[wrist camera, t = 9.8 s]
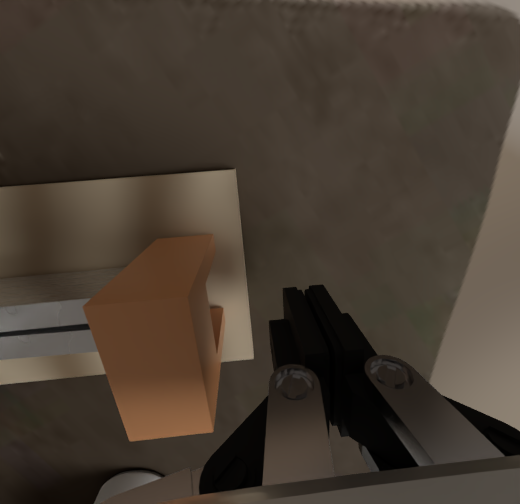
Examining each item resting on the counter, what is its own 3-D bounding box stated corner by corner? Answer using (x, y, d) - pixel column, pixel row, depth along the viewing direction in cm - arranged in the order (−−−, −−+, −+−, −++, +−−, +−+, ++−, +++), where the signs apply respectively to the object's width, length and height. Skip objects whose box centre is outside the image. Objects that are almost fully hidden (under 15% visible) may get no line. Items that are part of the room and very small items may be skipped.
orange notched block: (213, 234, 14) (187, 296, 7) (225, 322, 16) (212, 432, 9) (157, 238, 14) (82, 306, 7) (176, 326, 16) (129, 441, 9)
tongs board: (235, 168, 14) (233, 171, 11) (253, 348, 18) (255, 390, 15) (-192, 201, 13) (-337, 215, 10) (-74, 381, 17) (-148, 433, 14)
